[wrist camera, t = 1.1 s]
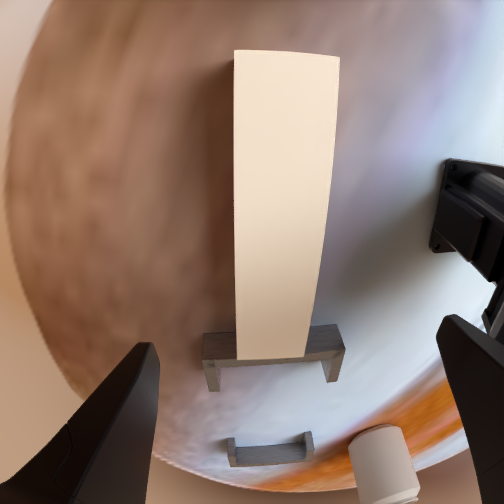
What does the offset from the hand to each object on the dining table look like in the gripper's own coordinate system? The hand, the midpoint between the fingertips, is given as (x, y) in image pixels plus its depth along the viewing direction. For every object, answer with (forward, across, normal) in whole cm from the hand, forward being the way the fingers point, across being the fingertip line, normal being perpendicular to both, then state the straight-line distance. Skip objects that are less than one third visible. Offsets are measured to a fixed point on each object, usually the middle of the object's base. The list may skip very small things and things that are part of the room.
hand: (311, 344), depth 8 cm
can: (+10, -14, +32) cm, 36 cm away
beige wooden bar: (+10, 0, 0) cm, 10 cm away
